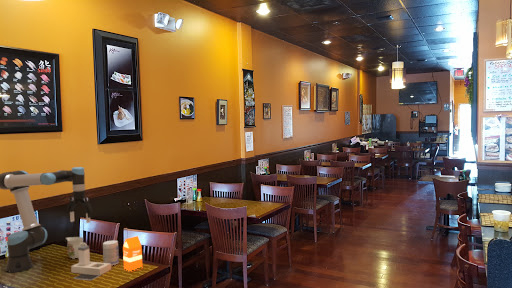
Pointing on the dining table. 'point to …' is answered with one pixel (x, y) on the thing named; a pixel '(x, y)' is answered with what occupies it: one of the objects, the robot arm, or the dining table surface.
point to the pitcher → (74, 246)
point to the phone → (86, 277)
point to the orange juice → (132, 253)
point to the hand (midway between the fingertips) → (80, 222)
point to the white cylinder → (84, 255)
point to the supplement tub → (111, 252)
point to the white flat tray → (91, 268)
